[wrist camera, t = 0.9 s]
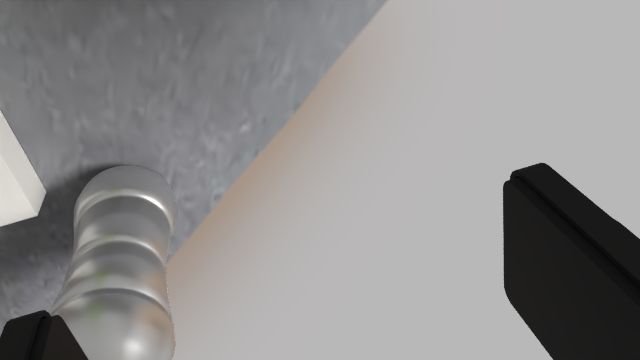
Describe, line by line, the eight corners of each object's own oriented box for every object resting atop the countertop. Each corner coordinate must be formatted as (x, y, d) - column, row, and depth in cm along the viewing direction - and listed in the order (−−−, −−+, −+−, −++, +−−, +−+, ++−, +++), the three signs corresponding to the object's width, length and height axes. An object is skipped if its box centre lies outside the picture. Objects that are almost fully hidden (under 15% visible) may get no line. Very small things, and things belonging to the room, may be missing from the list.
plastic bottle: (195, 203, 41) (209, 445, 24) (117, 246, 41) (78, 515, 24) (142, 137, 37) (116, 366, 21) (58, 185, 38) (-35, 448, 21)
